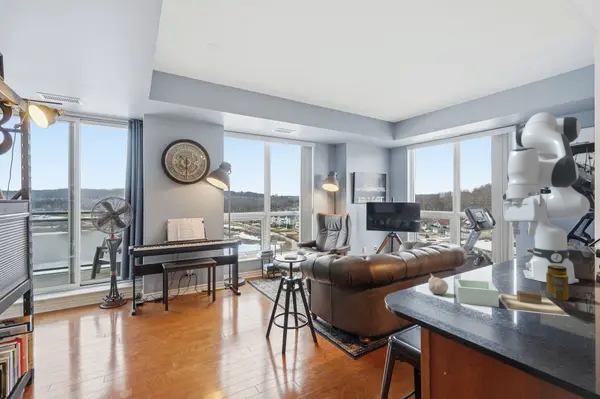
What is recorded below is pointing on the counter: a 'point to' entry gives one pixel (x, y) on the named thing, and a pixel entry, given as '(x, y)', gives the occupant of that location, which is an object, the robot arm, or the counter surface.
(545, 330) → the counter surface
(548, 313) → the white square tile
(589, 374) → the counter surface
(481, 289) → the mint green open box
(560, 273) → the condiment
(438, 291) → the garlic bulb
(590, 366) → the counter surface
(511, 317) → the counter surface
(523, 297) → the oak cover
